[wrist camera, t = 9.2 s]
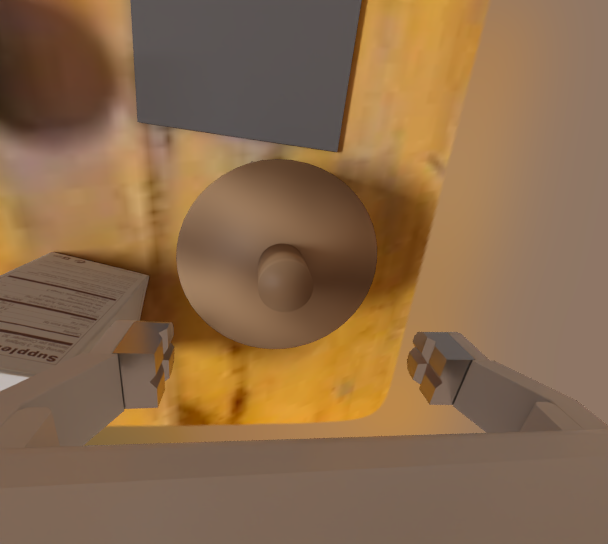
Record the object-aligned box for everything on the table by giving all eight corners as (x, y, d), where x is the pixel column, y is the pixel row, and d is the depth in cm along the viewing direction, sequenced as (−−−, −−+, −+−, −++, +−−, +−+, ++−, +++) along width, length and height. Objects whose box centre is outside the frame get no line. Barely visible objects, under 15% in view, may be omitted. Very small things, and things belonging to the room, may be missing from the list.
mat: (123, -175, 15) (119, -182, 15) (375, -96, 18) (377, -101, 18) (139, 122, 20) (137, 121, 20) (336, 151, 23) (337, 151, 23)
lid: (177, 145, 15) (151, 142, 12) (391, 173, 18) (426, 178, 14) (181, 339, 20) (164, 382, 16) (354, 343, 22) (373, 382, 18)
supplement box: (138, 346, 27) (45, 495, 15) (43, 328, 25) (-146, 482, 13) (153, 273, 24) (59, 382, 13) (50, 247, 23) (-170, 346, 11)
